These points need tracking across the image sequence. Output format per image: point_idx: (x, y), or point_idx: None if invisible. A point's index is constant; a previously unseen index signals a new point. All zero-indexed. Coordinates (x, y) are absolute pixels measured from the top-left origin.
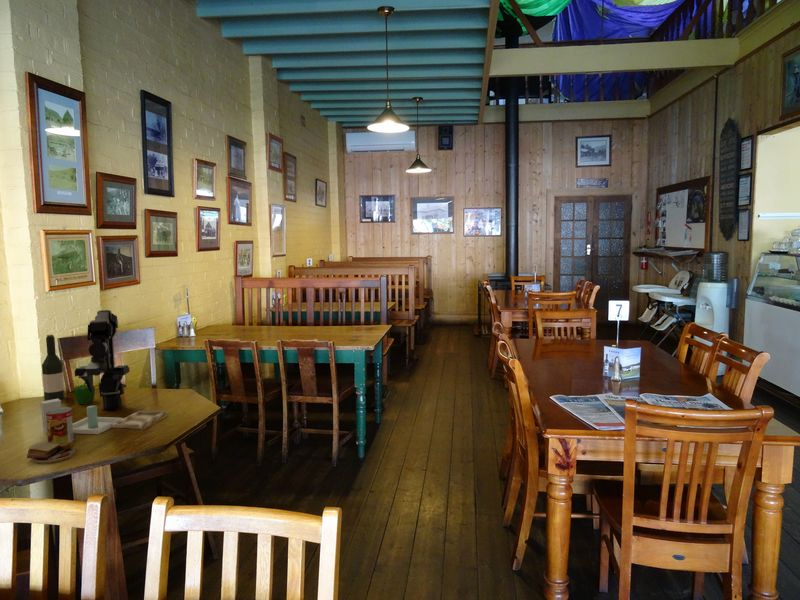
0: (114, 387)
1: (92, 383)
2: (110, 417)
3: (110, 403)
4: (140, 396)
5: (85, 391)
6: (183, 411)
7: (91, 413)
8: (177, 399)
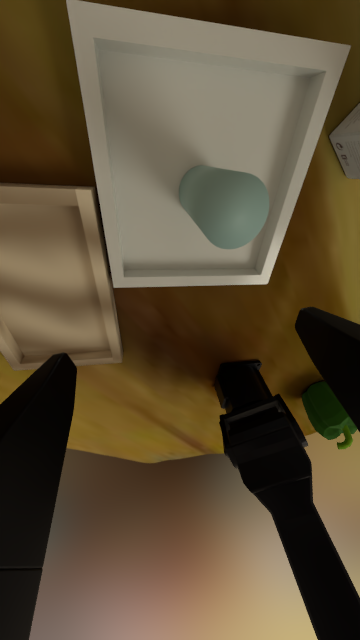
0: (26, 396)
1: (358, 411)
2: (170, 285)
3: (240, 381)
4: (213, 430)
5: (333, 413)
6: (6, 390)
7: (212, 174)
8: (116, 435)
